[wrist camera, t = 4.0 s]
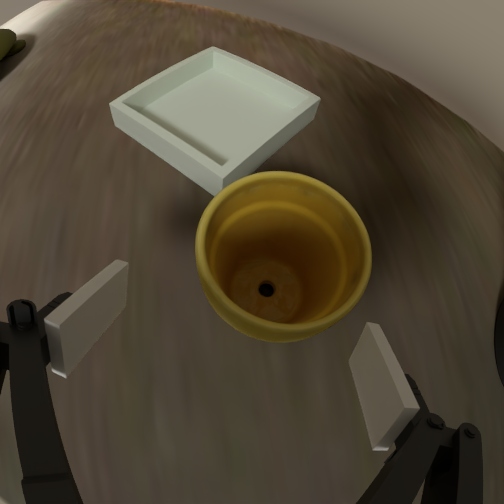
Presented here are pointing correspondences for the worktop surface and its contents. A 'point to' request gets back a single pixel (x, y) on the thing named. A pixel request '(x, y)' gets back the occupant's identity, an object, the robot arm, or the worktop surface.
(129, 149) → the worktop surface
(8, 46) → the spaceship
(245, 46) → the worktop surface
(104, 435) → the worktop surface
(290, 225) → the plant pot
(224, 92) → the tray
